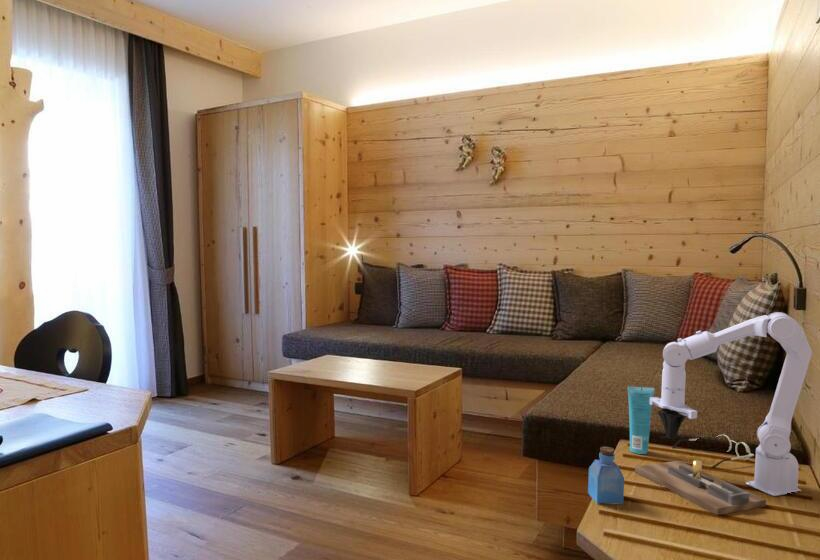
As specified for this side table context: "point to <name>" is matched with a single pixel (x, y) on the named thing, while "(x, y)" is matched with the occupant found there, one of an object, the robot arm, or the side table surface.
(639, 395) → the tube
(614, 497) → the perfume bottle
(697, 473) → the bolt
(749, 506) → the door board
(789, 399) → the robot arm
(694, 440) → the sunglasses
